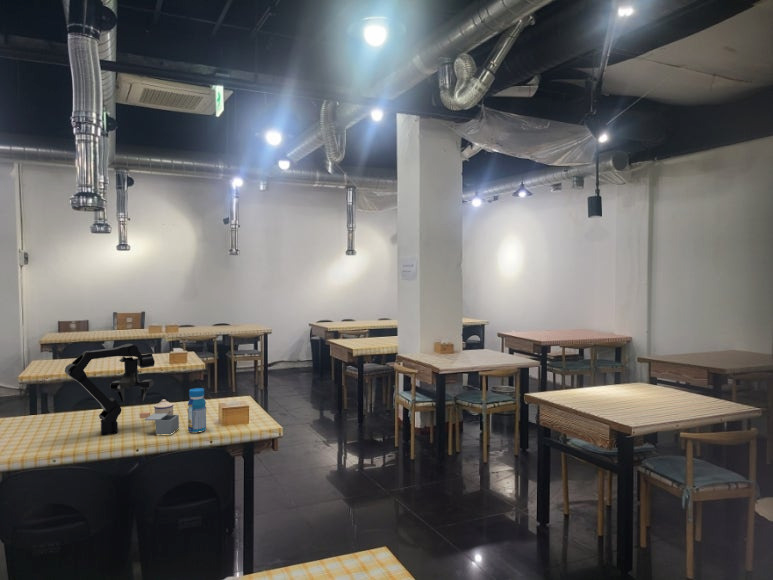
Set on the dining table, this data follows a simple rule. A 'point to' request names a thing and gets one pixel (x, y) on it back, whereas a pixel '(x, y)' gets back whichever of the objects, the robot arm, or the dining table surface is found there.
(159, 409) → the teacup with lid
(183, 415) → the dining table surface
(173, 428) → the carton
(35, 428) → the dining table surface
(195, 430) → the beverage bottle
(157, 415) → the lid
